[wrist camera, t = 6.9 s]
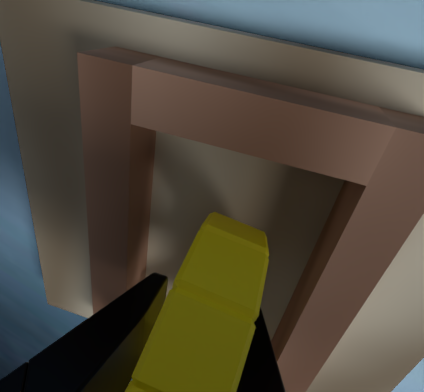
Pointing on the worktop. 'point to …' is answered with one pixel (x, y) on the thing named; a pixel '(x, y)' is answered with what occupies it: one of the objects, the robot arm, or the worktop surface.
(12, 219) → the worktop surface
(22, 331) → the worktop surface
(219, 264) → the watch
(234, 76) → the wooden framed tray
